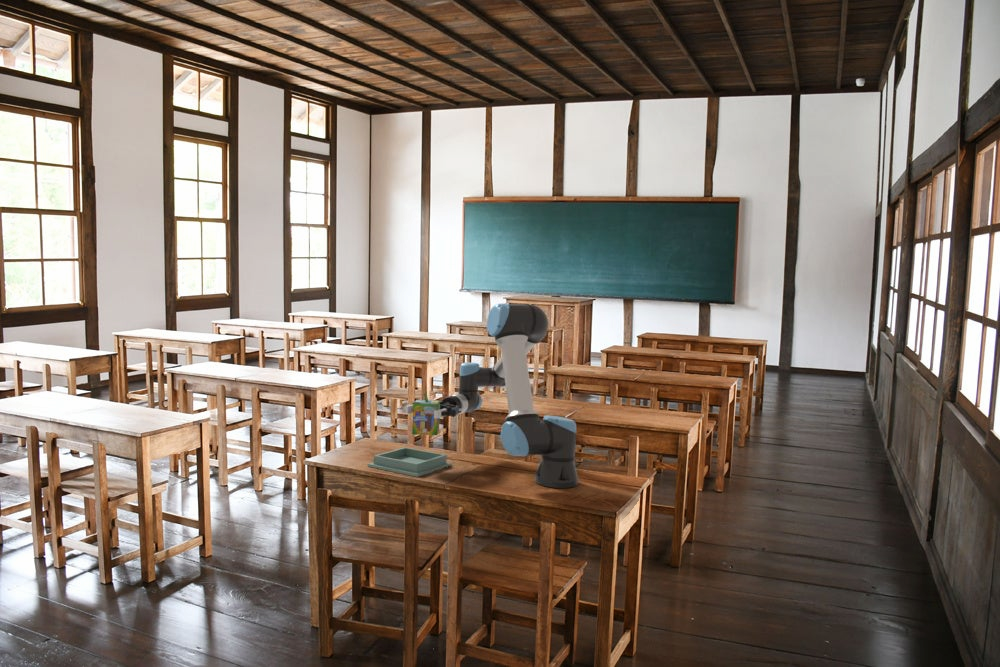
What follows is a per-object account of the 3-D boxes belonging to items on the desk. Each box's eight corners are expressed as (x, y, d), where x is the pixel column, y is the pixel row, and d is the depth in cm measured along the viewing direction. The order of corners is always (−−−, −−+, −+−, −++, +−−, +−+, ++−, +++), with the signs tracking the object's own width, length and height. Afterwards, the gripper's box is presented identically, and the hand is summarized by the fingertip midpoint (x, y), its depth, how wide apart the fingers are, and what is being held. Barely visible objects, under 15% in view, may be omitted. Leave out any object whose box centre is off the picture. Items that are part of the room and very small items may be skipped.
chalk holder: (451, 465, 279) (452, 454, 279) (417, 477, 260) (417, 465, 260) (403, 456, 290) (404, 445, 289) (367, 466, 270) (367, 455, 270)
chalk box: (436, 436, 268) (439, 395, 267) (411, 434, 268) (413, 393, 267) (439, 431, 277) (442, 391, 276) (415, 429, 277) (417, 389, 276)
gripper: (480, 419, 282) (448, 427, 263) (427, 410, 294) (393, 417, 275) (481, 399, 281) (449, 406, 263) (428, 391, 293) (394, 397, 275)
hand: (420, 412), depth 269 cm, fingers closed on chalk box, 12 cm apart
